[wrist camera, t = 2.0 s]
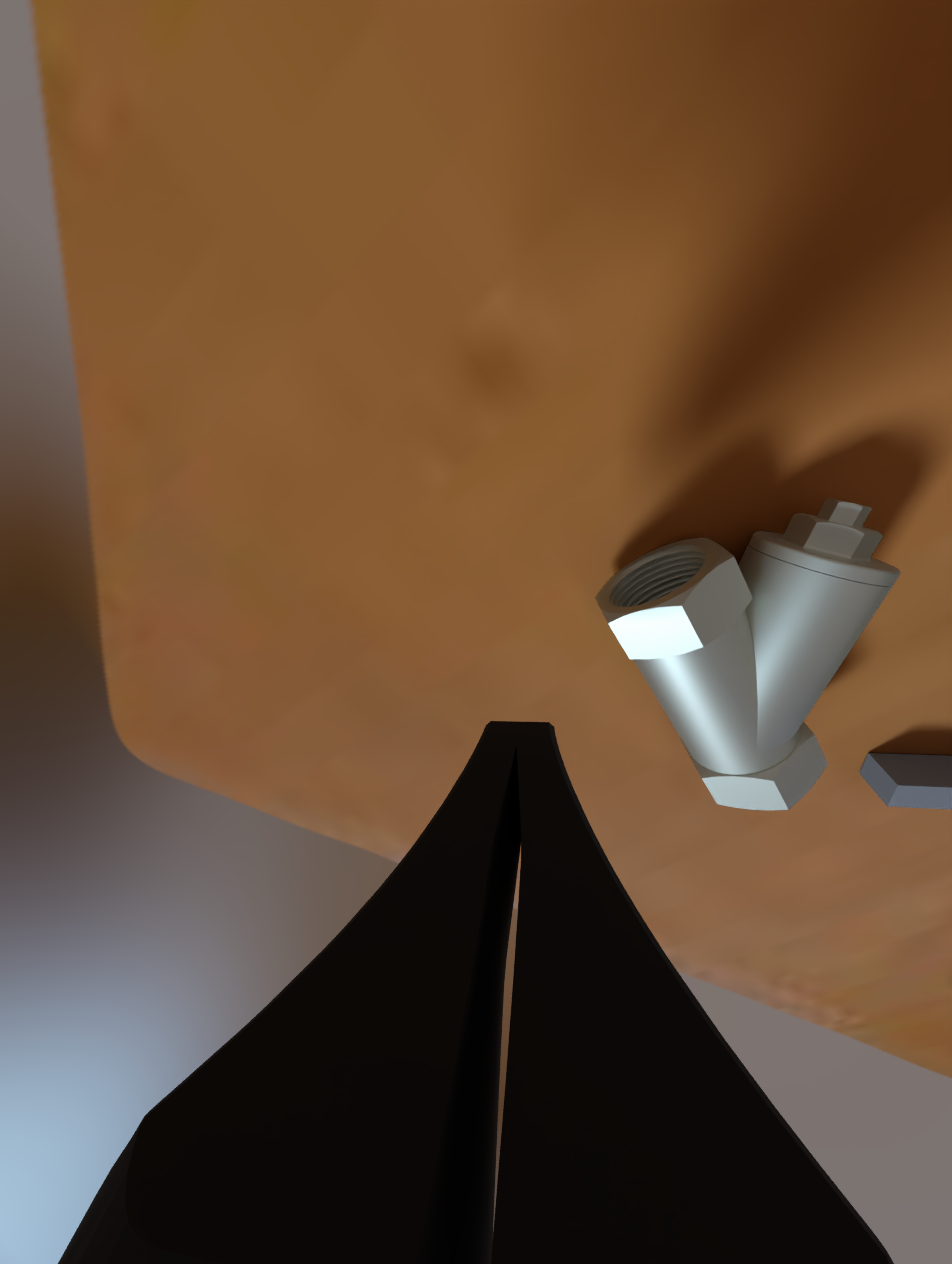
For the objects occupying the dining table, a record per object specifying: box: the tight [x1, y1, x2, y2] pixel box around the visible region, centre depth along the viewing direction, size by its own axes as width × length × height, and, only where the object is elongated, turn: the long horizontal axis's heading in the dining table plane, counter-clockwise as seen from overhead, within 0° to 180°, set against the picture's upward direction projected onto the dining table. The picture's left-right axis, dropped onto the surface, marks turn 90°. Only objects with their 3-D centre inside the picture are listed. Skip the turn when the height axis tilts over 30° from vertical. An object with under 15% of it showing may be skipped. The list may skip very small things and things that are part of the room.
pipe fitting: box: [595, 498, 901, 810], centre depth 13 cm, size 8×4×7 cm
